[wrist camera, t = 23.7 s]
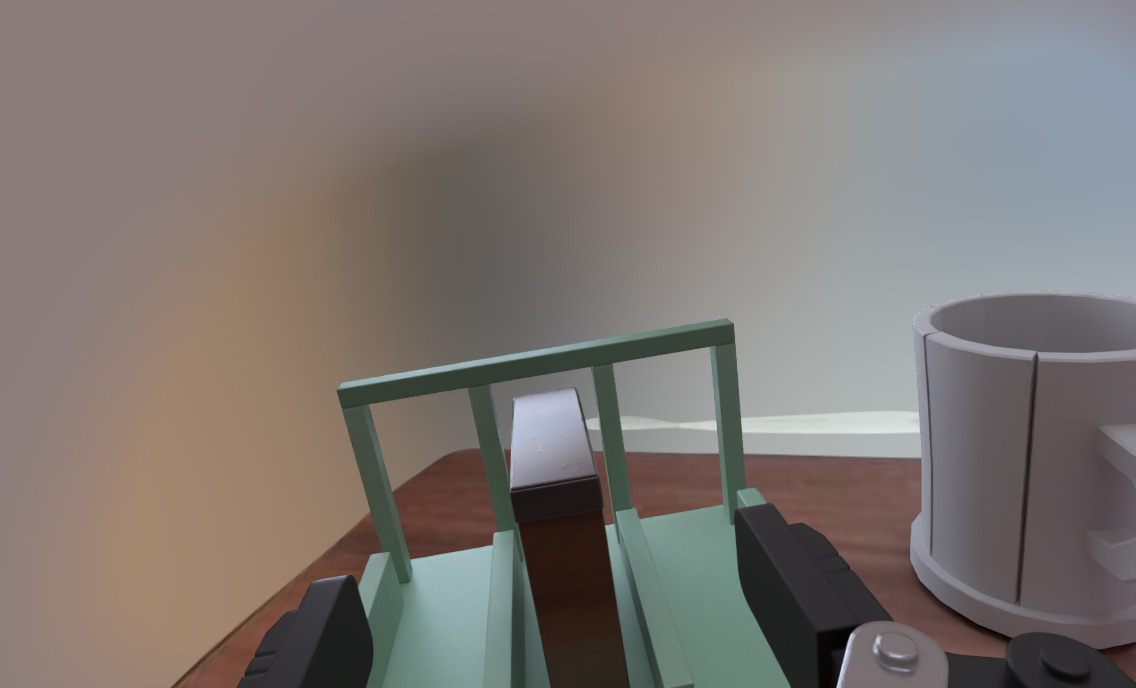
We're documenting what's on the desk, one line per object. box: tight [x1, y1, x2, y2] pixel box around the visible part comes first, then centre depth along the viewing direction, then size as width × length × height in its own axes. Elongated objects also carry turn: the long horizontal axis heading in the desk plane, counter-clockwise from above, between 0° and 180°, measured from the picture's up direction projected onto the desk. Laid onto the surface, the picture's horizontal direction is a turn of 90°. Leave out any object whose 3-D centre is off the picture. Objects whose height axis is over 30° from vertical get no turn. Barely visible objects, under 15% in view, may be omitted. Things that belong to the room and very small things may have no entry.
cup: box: [910, 291, 1136, 649], centre depth 24 cm, size 10×9×12 cm
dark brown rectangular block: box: [510, 387, 630, 688], centre depth 25 cm, size 8×3×10 cm, turn 4°
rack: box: [337, 319, 791, 688], centre depth 25 cm, size 16×20×12 cm
